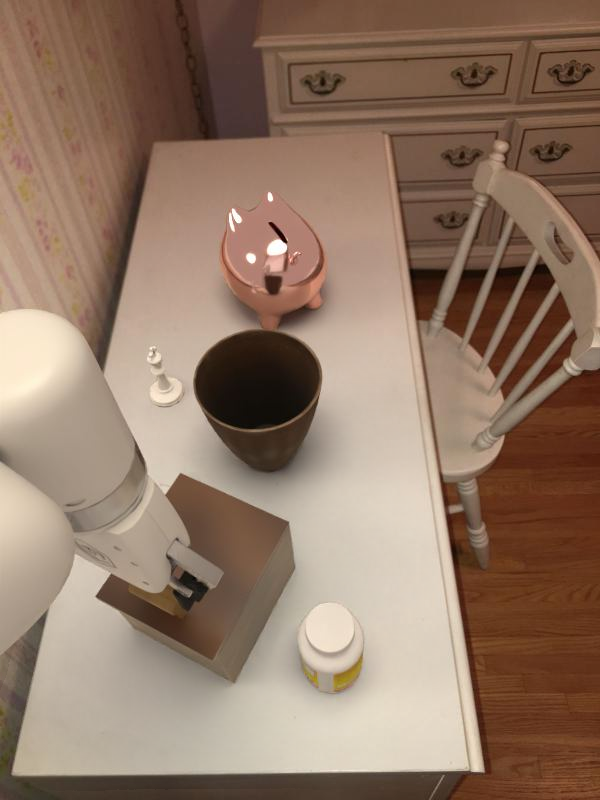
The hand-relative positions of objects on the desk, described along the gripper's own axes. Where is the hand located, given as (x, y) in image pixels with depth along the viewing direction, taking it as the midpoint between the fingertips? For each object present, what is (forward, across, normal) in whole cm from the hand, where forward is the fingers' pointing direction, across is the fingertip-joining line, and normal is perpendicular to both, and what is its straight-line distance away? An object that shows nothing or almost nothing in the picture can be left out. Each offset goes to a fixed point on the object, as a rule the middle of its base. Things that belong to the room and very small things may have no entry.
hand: (148, 569), depth 56 cm
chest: (+21, 0, +5) cm, 22 cm away
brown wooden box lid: (+9, 0, +5) cm, 11 cm away
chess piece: (+22, -22, +28) cm, 42 cm away
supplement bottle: (+22, +15, +5) cm, 27 cm away
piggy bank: (+22, -17, +52) cm, 59 cm away
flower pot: (+22, -4, +26) cm, 34 cm away
